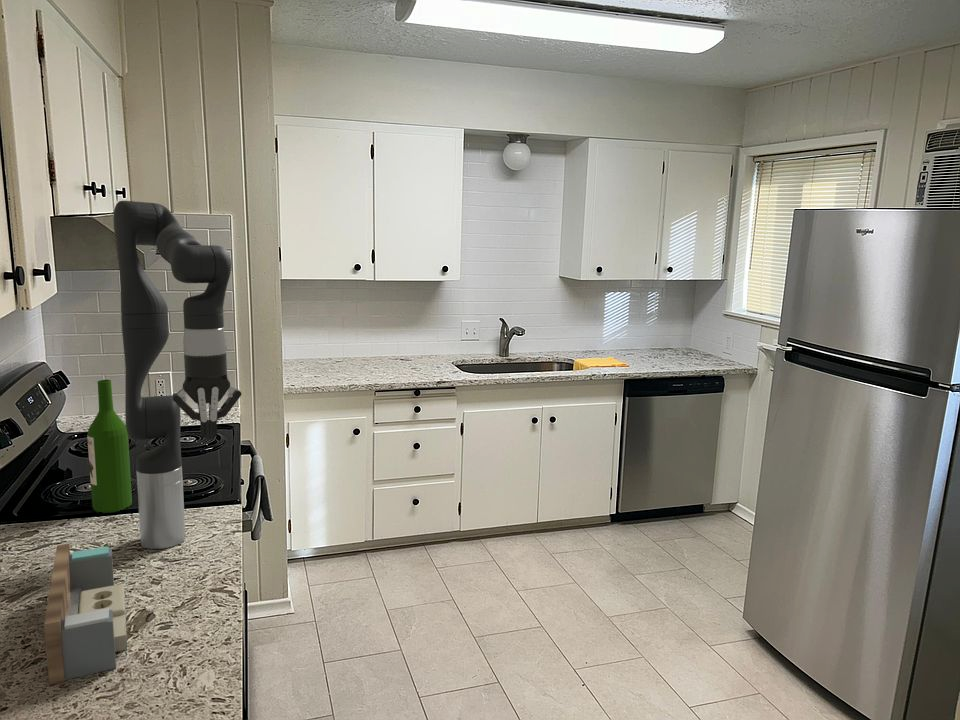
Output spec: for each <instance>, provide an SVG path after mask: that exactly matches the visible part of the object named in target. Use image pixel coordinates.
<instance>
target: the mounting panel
mask: <svg viewBox="0 0 960 720" xmlns="http://www.w3.org/2000/svg"><path fill="white" fill-rule="evenodd" d="M70 554H71V547H70V543H64V544H57V545H56V550H55V556H54V561H53V567H52V575H51V581H50V586H49V593H48V599H47V603H46V604H47V605H46V611H45V617H44V623H43V628H44V629H43V630H44V639H45V649H46V662H47V671H48V673H47V674H48V685H49V686H52V685H56V684H60V683H61V684H62V683H66V682H65V681H66V680H65V677H64V665H63V652H62V640H61V626H62V619H65V617H66V616H68V607H69V598H70V588H71V583H70V570H69V558H70Z"/></svg>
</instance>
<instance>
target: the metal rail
mask: <svg viewBox="0 0 960 720" xmlns="http://www.w3.org/2000/svg"><path fill="white" fill-rule="evenodd" d="M80 592H81V591H80V584H79V585H73V586H71V588H70V598H69V607H68V616H71V615H76V614H78V613H79V601H80Z"/></svg>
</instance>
